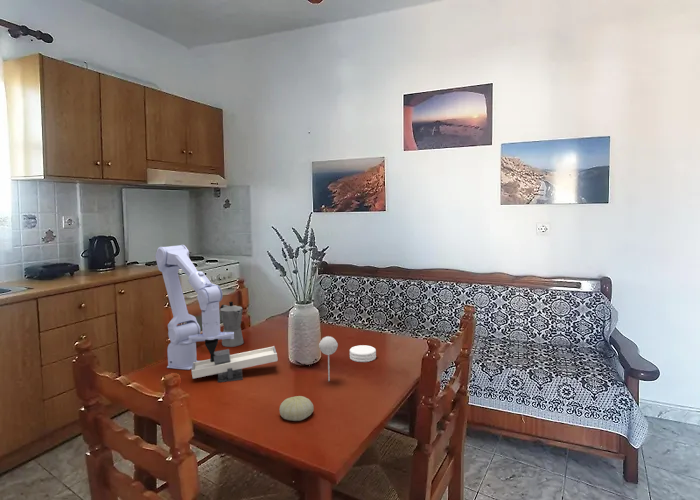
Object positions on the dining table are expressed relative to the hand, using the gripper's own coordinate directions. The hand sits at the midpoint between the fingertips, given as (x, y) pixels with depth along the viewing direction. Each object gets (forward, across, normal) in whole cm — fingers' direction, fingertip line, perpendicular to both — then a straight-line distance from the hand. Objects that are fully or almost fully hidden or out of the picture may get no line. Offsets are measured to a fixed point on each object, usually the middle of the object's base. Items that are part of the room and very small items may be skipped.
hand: (212, 360), depth 149 cm
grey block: (+1, +3, 0) cm, 4 cm away
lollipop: (+6, +37, -16) cm, 40 cm away
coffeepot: (+6, +6, +35) cm, 36 cm away
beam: (+2, +8, 0) cm, 8 cm away
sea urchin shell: (+6, +23, -35) cm, 43 cm away
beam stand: (+5, +6, 0) cm, 8 cm away
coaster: (+6, +54, +2) cm, 54 cm away
